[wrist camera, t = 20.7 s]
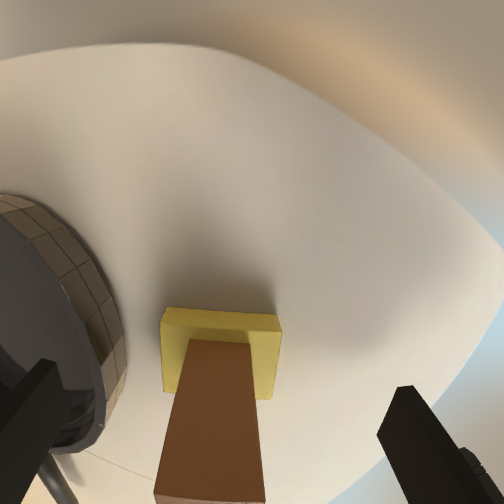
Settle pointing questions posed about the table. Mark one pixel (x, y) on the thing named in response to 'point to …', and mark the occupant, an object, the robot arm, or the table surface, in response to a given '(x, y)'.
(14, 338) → the frying pan
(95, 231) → the table surface
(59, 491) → the pan handle
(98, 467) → the table surface
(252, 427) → the yellow block with handle
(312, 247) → the table surface
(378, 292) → the table surface
